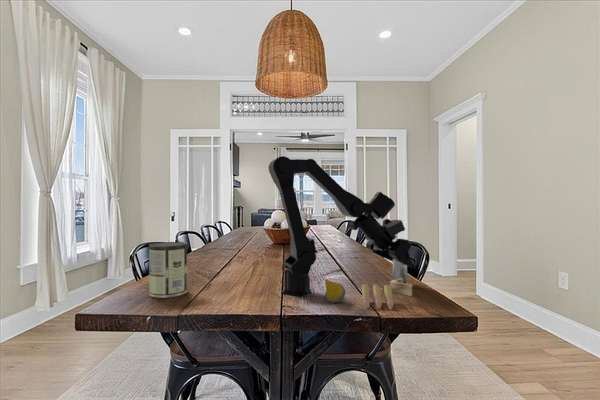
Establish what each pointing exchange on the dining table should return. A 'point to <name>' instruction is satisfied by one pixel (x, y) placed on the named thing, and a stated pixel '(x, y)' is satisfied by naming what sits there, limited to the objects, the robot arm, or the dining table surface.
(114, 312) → the dining table surface
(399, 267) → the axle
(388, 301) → the ammunition
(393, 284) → the v block
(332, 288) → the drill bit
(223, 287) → the dining table surface
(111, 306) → the dining table surface
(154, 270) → the coffee can
